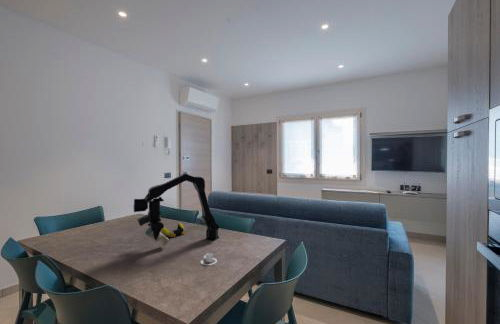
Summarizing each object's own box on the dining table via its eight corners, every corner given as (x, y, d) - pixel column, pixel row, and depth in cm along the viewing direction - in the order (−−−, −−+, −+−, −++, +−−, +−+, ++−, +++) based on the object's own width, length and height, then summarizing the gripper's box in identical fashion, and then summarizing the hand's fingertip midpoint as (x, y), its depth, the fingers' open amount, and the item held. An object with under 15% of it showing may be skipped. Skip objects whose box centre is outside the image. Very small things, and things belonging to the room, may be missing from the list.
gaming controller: (160, 235, 149) (168, 239, 142) (160, 227, 149) (168, 230, 142) (180, 230, 160) (188, 233, 153) (180, 222, 160) (188, 225, 153)
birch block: (167, 238, 132) (151, 225, 127) (169, 240, 128) (152, 227, 123) (162, 245, 130) (144, 232, 125) (163, 247, 126) (145, 234, 122)
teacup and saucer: (203, 258, 116) (203, 250, 116) (218, 258, 115) (218, 250, 115) (198, 266, 107) (198, 257, 107) (215, 266, 107) (215, 257, 107)
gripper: (136, 208, 130) (137, 235, 130) (140, 215, 114) (140, 246, 114) (157, 206, 135) (158, 232, 136) (163, 212, 119) (164, 242, 120)
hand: (155, 238), depth 126 cm, fingers closed on birch block, 4 cm apart
